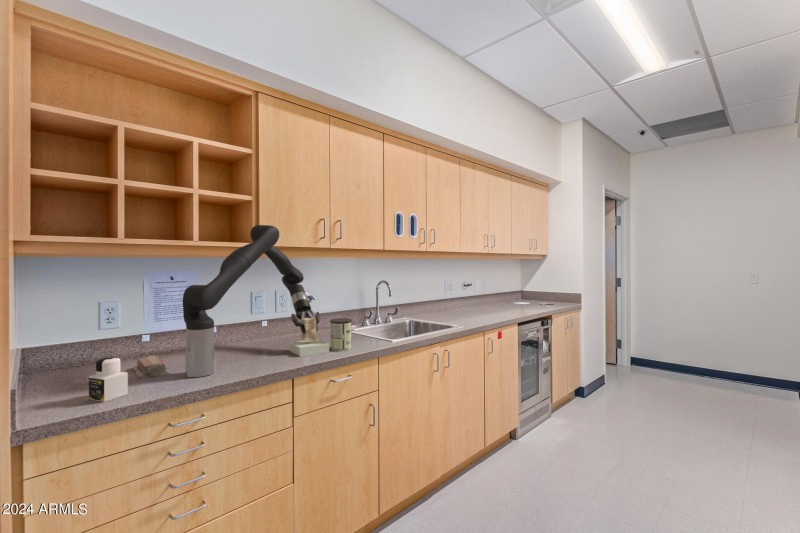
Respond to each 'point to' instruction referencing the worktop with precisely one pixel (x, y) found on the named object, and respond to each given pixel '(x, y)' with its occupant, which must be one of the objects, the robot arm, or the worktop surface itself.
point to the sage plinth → (308, 347)
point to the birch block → (309, 329)
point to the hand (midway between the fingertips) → (310, 331)
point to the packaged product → (151, 367)
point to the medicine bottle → (108, 380)
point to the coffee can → (340, 334)
